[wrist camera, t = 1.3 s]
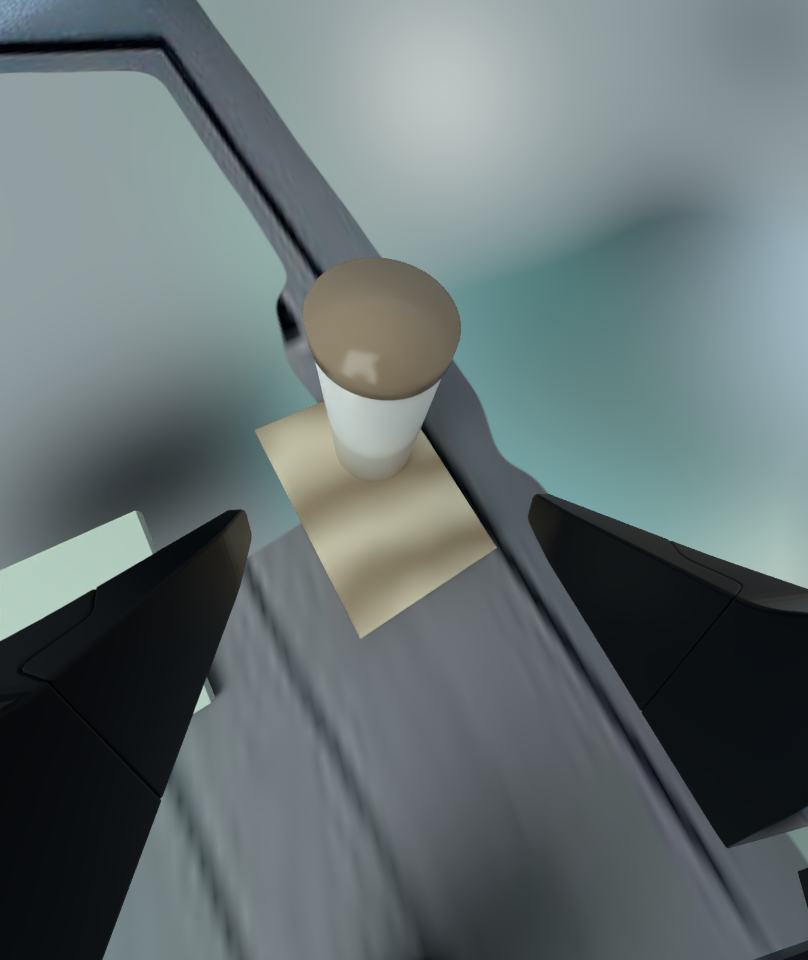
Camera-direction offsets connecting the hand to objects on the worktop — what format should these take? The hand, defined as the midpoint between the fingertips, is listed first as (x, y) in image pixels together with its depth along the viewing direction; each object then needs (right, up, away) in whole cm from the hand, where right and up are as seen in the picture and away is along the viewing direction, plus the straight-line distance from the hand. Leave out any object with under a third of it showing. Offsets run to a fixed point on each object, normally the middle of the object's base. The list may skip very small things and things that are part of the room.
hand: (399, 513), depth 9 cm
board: (-2, 0, +14) cm, 14 cm away
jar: (-2, +4, +13) cm, 14 cm away
